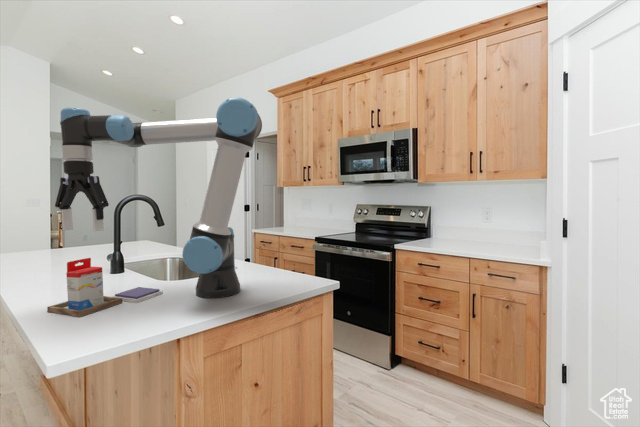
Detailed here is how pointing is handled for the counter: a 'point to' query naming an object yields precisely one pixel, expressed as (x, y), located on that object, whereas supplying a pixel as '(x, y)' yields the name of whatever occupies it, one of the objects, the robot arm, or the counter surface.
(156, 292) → the ink pad
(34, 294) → the counter surface
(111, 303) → the frame
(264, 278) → the counter surface
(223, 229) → the robot arm
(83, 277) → the ink box
